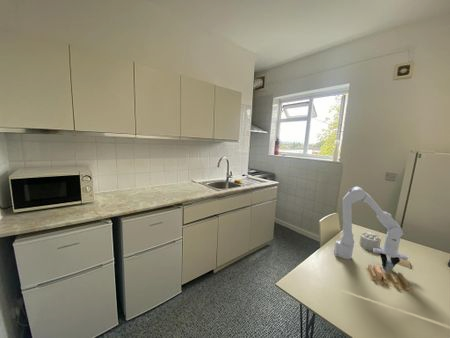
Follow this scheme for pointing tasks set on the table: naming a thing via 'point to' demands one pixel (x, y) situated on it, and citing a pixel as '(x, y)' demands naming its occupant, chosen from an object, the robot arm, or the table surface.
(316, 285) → the table surface
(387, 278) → the rack
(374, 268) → the wooden block
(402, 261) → the clay tablet
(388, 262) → the pale blue block
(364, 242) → the lumpy-topped squat cylinder
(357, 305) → the table surface
